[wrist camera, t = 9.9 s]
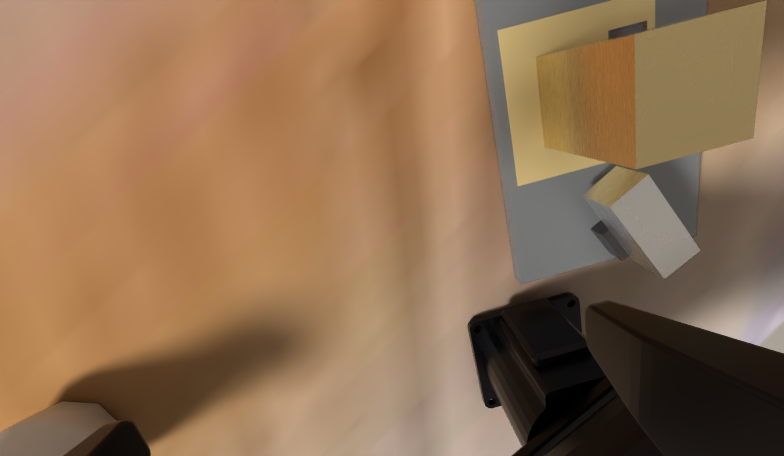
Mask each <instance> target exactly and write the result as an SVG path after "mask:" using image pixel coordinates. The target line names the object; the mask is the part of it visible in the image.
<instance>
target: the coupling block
mask: <svg viewBox="0 0 784 456" xmlns="http://www.w3.org/2000/svg"><path fill="white" fill-rule="evenodd" d="M766 5H767V0H765V1H761V2H757V3H753V4H749V5H745V6H740V7H736V8H732V9H728V10H724V11H720V12H715V13H711V14H707V15H703V16H699V17H695V18H690V19H686V20H682V21H678V22H674V23H670V24H665V25H661V26H657V27H653V28H649V29H647V21H643V22H639V23H635V24H631V25H628V26H624V27H620V28H616V29H612V30H609V31H608V39H604V40H601V41H597V42H593V43H589V44H585V45H581V46H578V47H574V48H570V49H566V50H562V51H558V52H555V53H551V54H547V55H543V56H539V57H536V67H537V77H538V87H539V97H540V108H541V118H542V128H543V139H544V147H546V148H550V149H554V150H558V151H562V152H566V153H570V154H574V155H579V156H583V157H587V158H591V159H595V160H599V161H603V162H607V163H612V164H616V165H620V166H624V167H628V168H632V169H640V168H643V167H647V166H651V165H655V164H658V163H662V162H666V161H669V160H673V159H677V158H681V157H684V156H688V155H692V154H696V153H699V152H703V151H707V150H710V149H714V148H718V147H722V146H725V145H729V144H733V143H737V142H740V141H744V140H748V139H751V138H753V137H754V126H755V116H756V106H757V96H758V86H759V76H760V66H761V55H762V45H763V35H764V25H765V15H766Z"/></svg>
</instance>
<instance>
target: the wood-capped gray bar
mask: <svg viewBox="0 0 784 456" xmlns="http://www.w3.org/2000/svg"><path fill="white" fill-rule="evenodd" d="M582 196H583V197H584V199H585V200H586V201H587V203H588V204H589V205H590V206H591V208H592V209H593V210H594V212H595V213H596V214H597V215H598V217H599V218H600V219H601V220H600V221H599V222H598V223H597V224H596V225H594V226H593V227H592V228H591V231H592V232H593V233H594V234H595V235H596V237H597V238H598V239H599V240H600V242H601V243H602V244H603V245H604V247H605V248H606V249H607V250H608V252H609V253H610V254H612V255H614V256H615V257H617V258H619V259H620V260H622V261H623V260H624V259H625V258H626V257H628V256H630V258H631V259H632V260H633V261H634V262H635V263H637V264H639V265H640V266H642V267H644V268H646V269H648V270H649V271H651V272H653V273H655V274H656V275H658V276H660V277H662V278H663V279H665V278H667V277H668V276H669V275H670V274H672V273H673V272H674V271H675V270H677V269H678V268H679V267H680V266H682V265H683V264H684V263H685V262H687V261H688V260H689V259H690V258H692V257H693V256H694V255H696V254H697V253H698V252H699V251H701V250H700V249H699V247H698V246H697V244H696V243H695V241H694V240H693V239H692V237H691V236H690V234H689V233H688V231H687V230H686V228H685V227H684V225H683V224H682V222H681V221H680V219H679V218H678V217H677V215H676V214H675V212H674V211H673V209H672V208H671V206H670V205H669V203H668V202H667V200H666V199H665V198H664V196H663V195H662V193H661V192H660V190H659V189H658V187H657V186H656V184H655V183H654V181H653V180H652V178H651V177H650V176H649V174H646V173H642V172H638V171H634V170H630V169H626V168H622V167H618V166H616V167H615V168H613V169H612V170H611V171H610V172H609V173H608V174H607V175H605V176H604V177H603V178H602V179H601V180H600V181H599V182H597V183H596V184H595V185H594V186H593V187H592V188H591V189H589V190H588V191H587V192H586V193H585V194H584V195H582Z"/></svg>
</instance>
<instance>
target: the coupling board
mask: <svg viewBox="0 0 784 456" xmlns="http://www.w3.org/2000/svg"><path fill="white" fill-rule="evenodd" d="M475 6H476V12H477V19H478V26H479V33H480V40H481V47H482V53H483V60H484V67H485V74H486V81H487V88H488V94H489V101H490V108H491V115H492V122H493V129H494V136H495V142H496V149H497V156H498V163H499V170H500V177H501V183H502V190H503V197H504V204H505V211H506V218H507V224H508V231H509V238H510V245H511V252H512V259H513V265H514V272H515V278H516V279H517V280H518V281H519V282H520V283H521V284H524V283H528V282H531V281H535V280H539V279H542V278H546V277H549V276H553V275H557V274H560V273H564V272H567V271H571V270H575V269H578V268H582V267H586V266H589V265H593V264H596V263H600V262H604V261H607V260H611V259H614V258H617V257H615V256H614V255H612V254H610V253H609V252H608V250H607V249H606V248H605V247H604V245H603V244H602V243H601V242H600V240H599V239H598V238H597V237H596V235H595V234H594V233H593V232H592V231H591V228H592V227H593V226H594V225H596V224H597V223H598V222H599V221H600V220H601V219H600V218H599V217H598V215H597V214H596V213H595V212H594V210H593V209H592V208H591V206H590V205H589V204H588V203H587V201H586V200H585V199H584V197H583V196H582V195H584V194H585V193H586V192H587V191H588V190H589V189H591V188H592V187H593V186H594V185H595V184H596V183H597V182H599V181H600V180H601V179H602V178H603V177H604V176H605V175H607V174H608V173H609V172H610V171H611V170H612V169H613V168H615V167H616V166H618V167H622V168H626V169H630V170H634V171H638V172H642V173H646V174H649V176H650V177H651V178H652V180H653V181H654V183H655V184H656V186H657V187H658V189H659V190H660V192H661V193H662V195H663V196H664V198H665V199H666V200H667V202H668V203H669V205H670V206H671V208H672V209H673V211H674V212H675V214H676V215H677V217H678V218H679V219H680V221H681V222H682V224H683V225H684V227H685V228H686V230H687V231H688V233H689V234H690V236H691V237H694V236H696V235H697V214H698V192H699V170H700V152H699V153H696V154H692V155H688V156H684V157H681V158H677V159H673V160H669V161H666V162H662V163H658V164H655V165H651V166H647V167H643V168H640V169H632V168H628V167H624V166H620V165H616V164H612V163H607V162H603V161H599V160H595V159H591V158H587V157H583V156H579V155H574V154H570V153H566V152H562V151H558V150H554V149H550V148H546V147H544V139H543V128H542V118H541V108H540V97H539V87H538V77H537V67H536V57H539V56H543V55H547V54H551V53H555V52H558V51H562V50H566V49H570V48H574V47H578V46H581V45H585V44H589V43H593V42H597V41H601V40H604V39H608V31H609V30H612V29H616V28H620V27H624V26H628V25H631V24H635V23H639V22H643V21H647V29H649V28H653V27H657V26H661V25H665V24H670V23H674V22H678V21H682V20H686V19H690V18H695V17H699V16H703V15H707V0H475Z"/></svg>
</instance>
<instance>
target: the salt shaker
mask: <svg viewBox="0 0 784 456" xmlns="http://www.w3.org/2000/svg"><path fill="white" fill-rule="evenodd" d="M116 421H117V420H116V419H114V418H113V417H112V416H111V415H110V414H109V413H108V412H107V411H106V410H105V409H104V408H103V407H102V406H100V405H99V404H96V403H82V402H68V401H61V402H59V403H57V404H55V405H53V406H51V407H49V408H47V409H45V410H43V411H40V412H38V413H36V414H34V415H32V416H30V417H28V418H26V419H24V420H22V421H20V422H18V423H17V424H15V425H13V426H11V427H9V428H7V429H5V430H4V431H2V432H1V433H0V456H63V455H65V454H66V453H67V452H69V451H70V450H71V449H73V448H74V447H75V446H76V445H78V444H79V443H80V442H82V441H83V440H84V439H86V438H87V437H88V436H90V435H91V434H92V433H94V432H95V431H96V430H98V429H99V428H100V427H102V426H103V425H105V424H108V423H111V422H116Z"/></svg>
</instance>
